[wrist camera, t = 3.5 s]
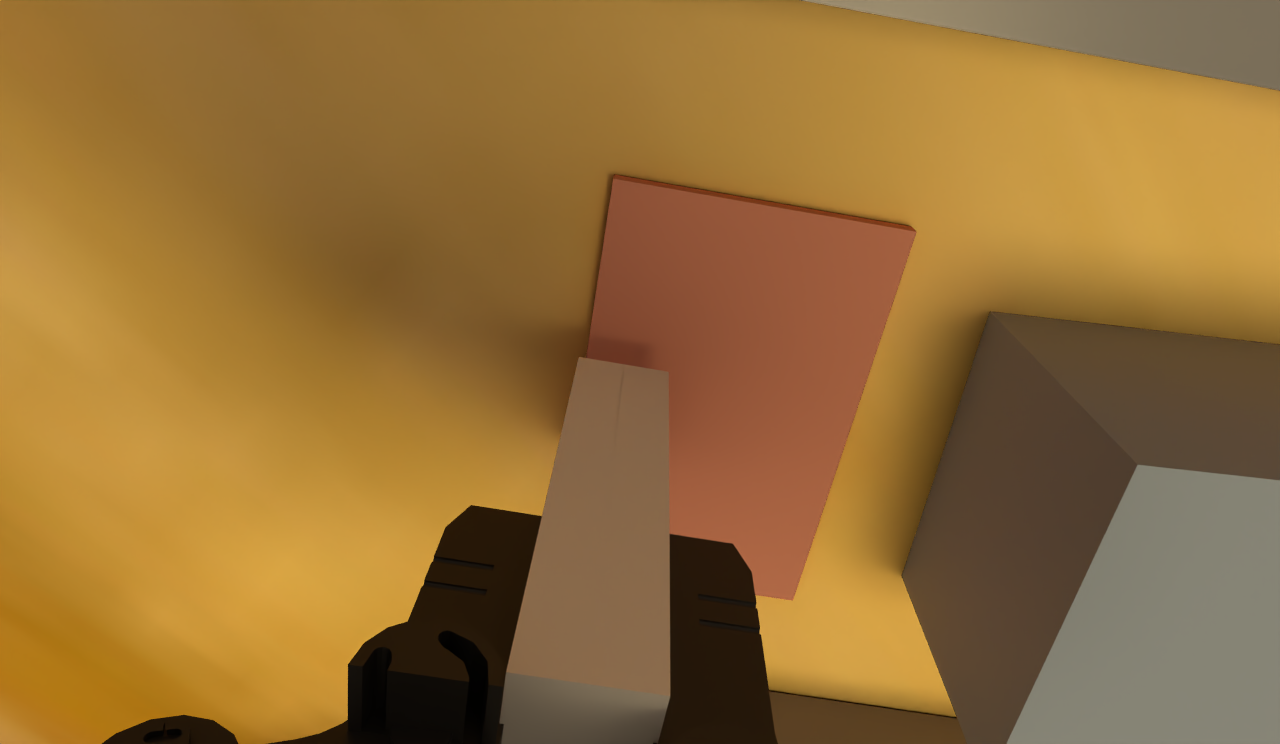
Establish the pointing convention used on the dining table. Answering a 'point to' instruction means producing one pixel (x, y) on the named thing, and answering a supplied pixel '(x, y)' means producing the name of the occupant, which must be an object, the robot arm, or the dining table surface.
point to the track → (826, 314)
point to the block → (1107, 538)
